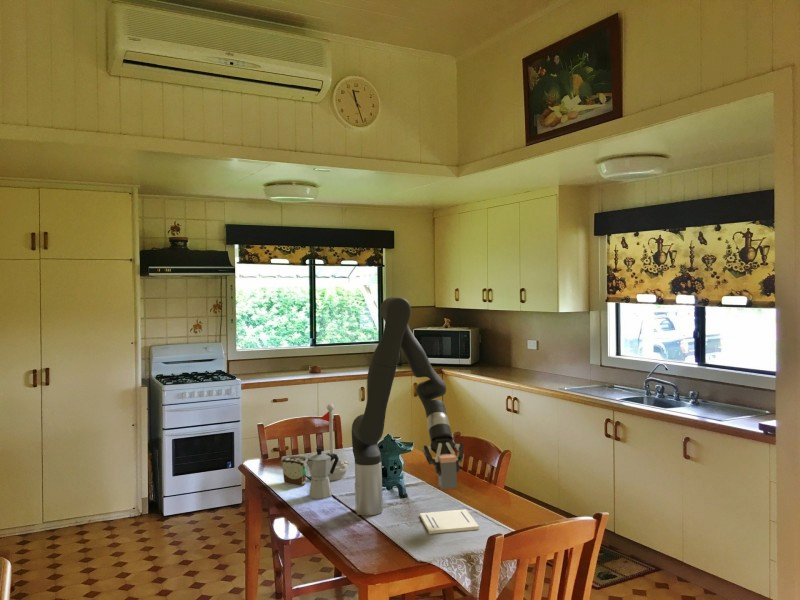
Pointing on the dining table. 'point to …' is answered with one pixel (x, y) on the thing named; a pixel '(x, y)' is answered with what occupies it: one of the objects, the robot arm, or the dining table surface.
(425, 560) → the dining table surface
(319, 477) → the coffee maker
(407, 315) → the robot arm
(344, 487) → the dining table surface
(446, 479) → the grey pink block
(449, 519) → the notepad
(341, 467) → the flag stand
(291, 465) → the food container
